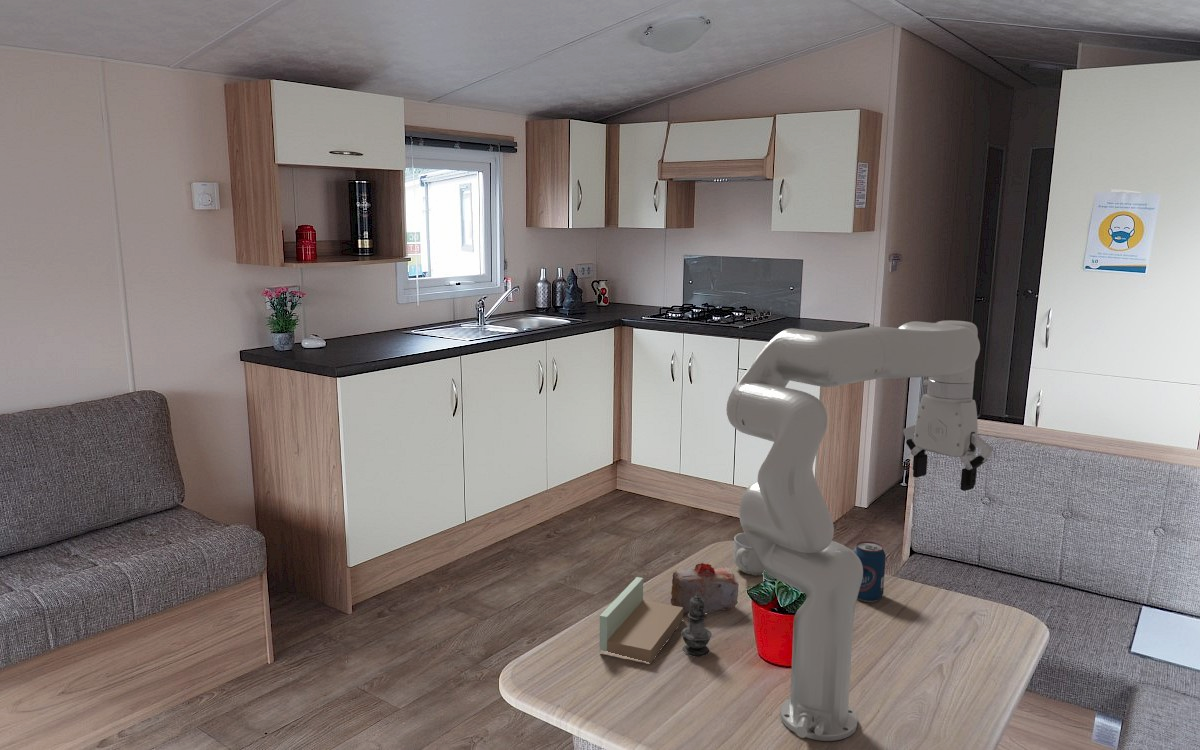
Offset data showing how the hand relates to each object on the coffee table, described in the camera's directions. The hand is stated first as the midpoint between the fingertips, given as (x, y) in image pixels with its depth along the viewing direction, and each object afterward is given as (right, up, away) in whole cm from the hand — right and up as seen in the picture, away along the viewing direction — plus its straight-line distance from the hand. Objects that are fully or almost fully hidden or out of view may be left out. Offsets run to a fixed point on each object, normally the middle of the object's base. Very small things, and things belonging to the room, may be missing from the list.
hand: (942, 482), depth 156 cm
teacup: (-26, -28, +50) cm, 63 cm away
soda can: (-2, -30, +37) cm, 48 cm away
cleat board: (-53, -34, +18) cm, 65 cm away
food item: (-40, -31, +31) cm, 60 cm away
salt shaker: (-43, -35, +13) cm, 57 cm away
